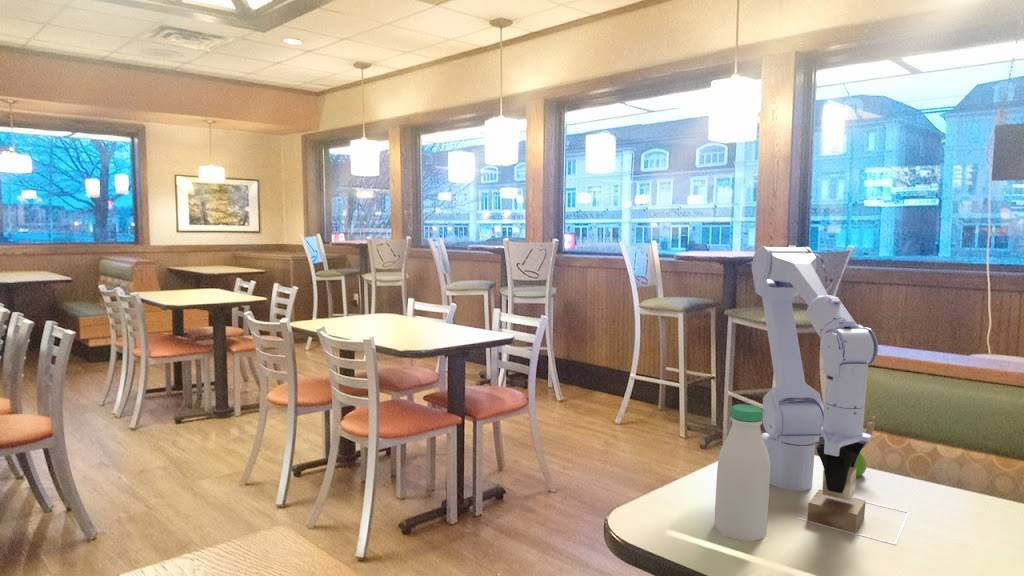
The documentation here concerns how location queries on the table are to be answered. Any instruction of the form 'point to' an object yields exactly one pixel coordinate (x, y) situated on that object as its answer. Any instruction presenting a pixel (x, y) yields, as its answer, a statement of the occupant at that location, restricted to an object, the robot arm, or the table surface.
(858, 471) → the snail figurine
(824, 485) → the maple cube
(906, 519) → the white rectangular outline marking
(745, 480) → the milk bottle
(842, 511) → the walnut base block
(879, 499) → the table surface
